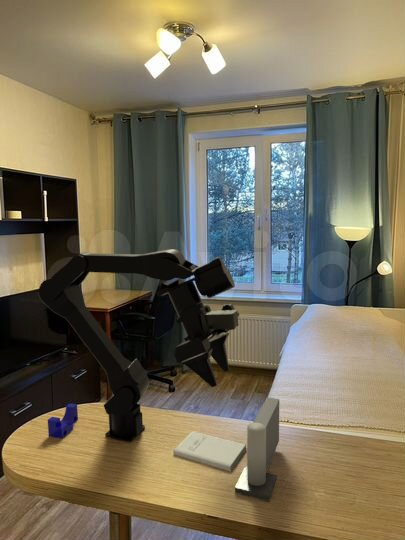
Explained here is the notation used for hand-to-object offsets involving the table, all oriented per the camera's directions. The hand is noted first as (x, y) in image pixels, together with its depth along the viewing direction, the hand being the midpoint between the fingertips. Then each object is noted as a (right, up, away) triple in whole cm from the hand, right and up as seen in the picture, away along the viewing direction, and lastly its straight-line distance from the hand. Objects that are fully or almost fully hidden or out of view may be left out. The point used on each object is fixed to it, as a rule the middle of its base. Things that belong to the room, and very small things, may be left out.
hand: (221, 378), depth 82 cm
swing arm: (+8, -14, -6) cm, 17 cm away
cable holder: (-34, -14, +10) cm, 39 cm away
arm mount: (+6, -16, -11) cm, 20 cm away
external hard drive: (-2, -16, 0) cm, 16 cm away
